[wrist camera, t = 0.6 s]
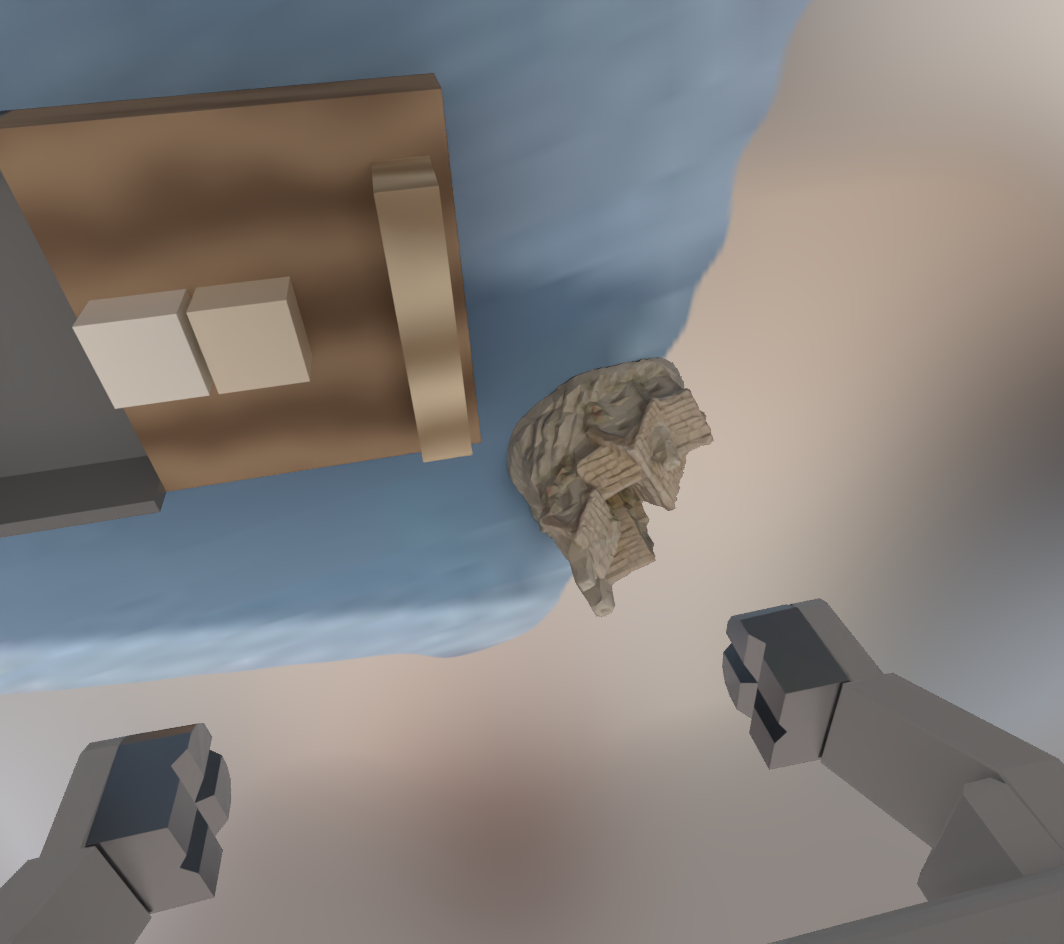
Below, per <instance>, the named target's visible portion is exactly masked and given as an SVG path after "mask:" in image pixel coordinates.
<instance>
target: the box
mask: <svg viewBox="0 0 1064 944" xmlns="http://www.w3.org/2000/svg"><path fill="white" fill-rule="evenodd" d="M11 111H12V110H9V111H0V118H1V117H3V116H4V115H6V114H7V113H9V112H11ZM76 320H77V317H76V315H75V314H74V312H73V310H72V308H71V306H70V304H69V302H68V300H67V298H66V296H65V294H64V292H63V290H62V288H61V286H60V284H59V282H58V281H57V279H56V277H55V275H54V273H53V271H52V269H51V267H50V265H49V263H48V261H47V259H46V257H45V255H44V253H43V251H42V249H41V248H40V246H39V244H38V242H37V240H36V238H35V236H34V234H33V232H32V230H31V228H30V226H29V224H28V222H27V220H26V218H25V216H24V215H23V213H22V211H21V209H20V207H19V205H18V203H17V201H16V199H15V197H14V195H13V193H12V191H11V189H10V187H9V185H8V183H7V182H6V180H5V178H4V176H3V174H2V172H1V170H0V538H1V537H7V536H13V535H19V534H26V533H32V532H38V531H44V530H51V529H57V528H63V527H69V526H76V525H82V524H88V523H95V522H101V521H107V520H113V519H120V518H126V517H132V516H138V515H145V514H151V513H157V512H160V510H161V507H162V504H163V501H164V497H165V494H166V490H165V488H164V486H163V484H162V482H161V480H160V479H159V477H158V475H157V473H156V471H155V469H154V467H153V465H152V463H151V461H150V459H149V457H148V455H147V453H146V451H145V449H144V447H143V446H142V444H141V442H140V440H139V438H138V436H137V434H136V432H135V430H134V428H133V426H132V424H131V422H130V420H129V418H128V416H127V414H126V413H125V411H124V409H123V408H117V409H115V408H114V406H113V404H112V402H111V400H110V398H109V396H108V395H107V393H106V391H105V389H104V387H103V385H102V383H101V381H100V379H99V377H98V375H97V374H96V372H95V370H94V368H93V366H92V364H91V362H90V360H89V358H88V356H87V355H86V353H85V351H84V349H83V347H82V345H81V343H80V341H79V339H78V337H77V335H76V334H75V332H74V330H73V328H72V326H73V325H74V323H75V322H76Z"/></svg>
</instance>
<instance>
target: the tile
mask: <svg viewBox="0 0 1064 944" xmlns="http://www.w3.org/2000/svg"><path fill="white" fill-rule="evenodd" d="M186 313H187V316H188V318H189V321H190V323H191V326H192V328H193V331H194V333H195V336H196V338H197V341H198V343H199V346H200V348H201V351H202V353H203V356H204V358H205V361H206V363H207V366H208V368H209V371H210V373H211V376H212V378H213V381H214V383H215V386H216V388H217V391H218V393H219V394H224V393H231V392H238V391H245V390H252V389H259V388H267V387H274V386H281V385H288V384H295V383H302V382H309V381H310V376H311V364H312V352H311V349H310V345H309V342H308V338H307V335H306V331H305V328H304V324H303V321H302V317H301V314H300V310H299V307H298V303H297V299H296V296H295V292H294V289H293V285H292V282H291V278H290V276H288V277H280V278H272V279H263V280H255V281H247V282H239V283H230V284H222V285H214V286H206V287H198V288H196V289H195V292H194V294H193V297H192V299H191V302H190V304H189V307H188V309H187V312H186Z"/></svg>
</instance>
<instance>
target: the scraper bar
mask: <svg viewBox="0 0 1064 944" xmlns="http://www.w3.org/2000/svg"><path fill="white" fill-rule="evenodd" d="M371 168H372V180H373V193H374V198H375V204H376V209H377V214H378V220H379V225H380V230H381V236H382V241H383V247H384V252H385V257H386V263H387V268H388V274H389V279H390V284H391V290H392V295H393V301H394V306H395V311H396V317H397V322H398V327H399V333H400V338H401V344H402V349H403V354H404V360H405V365H406V371H407V376H408V381H409V387H410V392H411V398H412V403H413V408H414V414H415V419H416V424H417V430H418V435H419V441H420V446H421V451H422V457H423V462H430V461H436V460H442V459H449V458H455V457H461V456H468V455H472V447H471V439H470V431H469V423H468V415H467V407H466V399H465V391H464V383H463V375H462V367H461V359H460V351H459V343H458V335H457V327H456V319H455V311H454V303H453V295H452V287H451V279H450V271H449V263H448V255H447V247H446V239H445V231H444V223H443V216H442V208H441V200H440V192H439V185H438V182H437V178H436V175H435V172H434V169H433V165H432V162H431V159H430V156H419V157H409V158H399V159H390V160H380V161H371Z"/></svg>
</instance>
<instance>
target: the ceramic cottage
mask: <svg viewBox="0 0 1064 944" xmlns="http://www.w3.org/2000/svg"><path fill="white" fill-rule="evenodd" d="M705 420H706V415H705V414H704V412H701V411H700V410H699V407H698V405H697V403H696V401H695V400H694V398H693V396H692V394H691V391H690V390H689V389H687V388H686V389H684V382H683V381H682V379H681V377H680V374H679V372H678V369H677V368H676V367H675V365H674V364H673V362H672V363H671V362H670V361H668V360H666V359H663V358H658V359H657V358H649V359H648V360H646V359H640V361H639V362H635V361H633V362H628V363H622V364H619V365H617V366H610V367H608V368H605V367H601V368H600V369H597V370H596V369H593V370H590V371H588V372H587V373H582V374H579V375H578V376H575V377H573V378H572V379H570V380H569V381H567V383H564V384H562V385H561V386H559V387H558V389H557V390H556V391H554V392H553V393H551V395H549V396H547V397H545V398H544V399H543V400H541V401H540V402H539V403H537V404H536V405H535V406H534V407H533V408H532V409H530V410H529V413H527V414H526V416H525V417H524V416H523V417H522V418H521V419H520V420H519V422H518V423H517V425H516V427H515V428H514V429H513V432H512V435H511V438H510V442H509V446H508V451H507V468H508V473H509V476H510V478H511V480H512V483H513V484H514V485H515V487H516V488H517V490H518V492H520V493H521V494H522V495H523V496H524V498H525V499H526V500H527V502H528V504H529V506H530V509H531V512H532V515H533V517H534V518H535V519H536V520H537V521H538V523H539V528H540V532H545V533H546V534H547V535H548V536H549V537H551V538H553V539H554V541H555V544H556V545H557V547H558V548H559V549H560V551H561V552H562V554H563V555H564V556H565V558H566V559H567V560H568V561H569V562H570V566H571V569H572V573H573V576H574V580H575V582H576V584H577V586H578V588H579V589H580V590H581V592H582V594H583V595H584V596H585V598H586V599H587V601H588V602H589V605H590V607H591V608H592V610H593V611H594V613H595V615H596V616H599V617H603V616H606V615H608V614H610V613H611V612H612V611H613V609H614V607H615V603H614V597H613V592H612V585H613V584H614V582H616V581H618V580H620V579H621V578H623V577H625V576H627V575H628V574H629V573H631V572H632V571H634V570H637V569H639V568H641V567H644V566H646V565H648V564H650V563H652V562H654V561H655V555H654V552H653V546H654V543H653V542H652V540H651V538H650V537H649V535H648V534H647V527H646V526H647V524H648V522H649V518H648V516H647V515H646V513H645V511H644V509H643V506H642V502H643V501H647V502H649V503H650V504H653V505H657V506H661V507H663V508H665V509H666V510H668V511H670V510H673V509H675V504H674V503H675V502H676V501H677V497H676V496H677V494H678V492H679V489H680V487H679V482H680V479H681V478H682V475H683V473H684V472H683V470H684V468H685V467H684V466H685V463H686V455H687V454H688V452H689V451H691V450H693V449H695V448H698V447H700V446H703V445H708V444H710V443H711V442H712V441H713V437H712V435H711V429H710V427H709V426H708V424H707V422H706V421H705Z"/></svg>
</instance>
